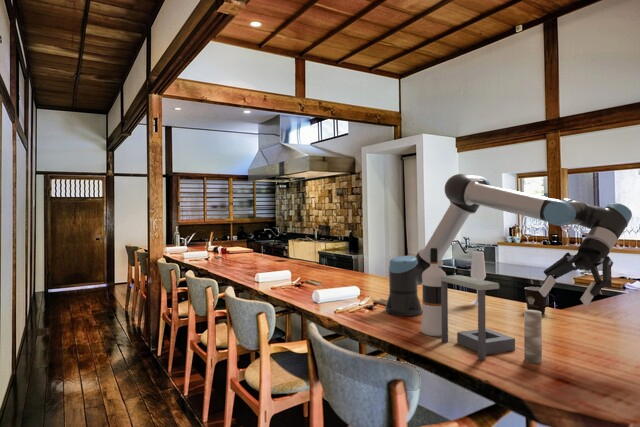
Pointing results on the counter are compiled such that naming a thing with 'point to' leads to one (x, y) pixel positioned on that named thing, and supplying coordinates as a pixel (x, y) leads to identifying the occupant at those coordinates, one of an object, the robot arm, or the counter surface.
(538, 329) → the peg
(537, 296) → the coffee mug
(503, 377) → the counter surface
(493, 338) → the socket block
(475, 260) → the champagne flute
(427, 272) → the vodka
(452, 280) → the small grey bench
